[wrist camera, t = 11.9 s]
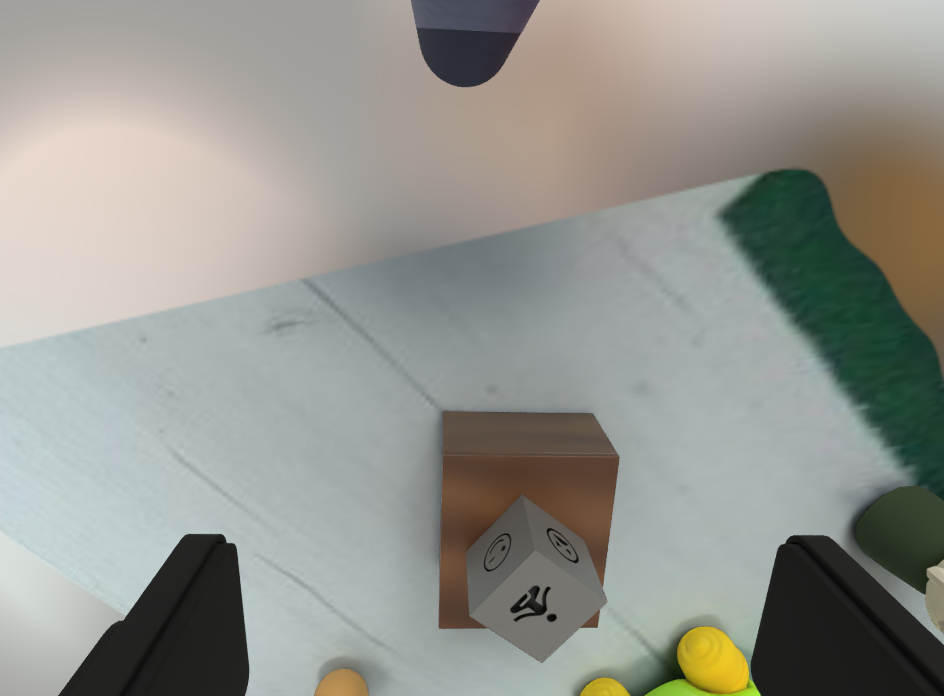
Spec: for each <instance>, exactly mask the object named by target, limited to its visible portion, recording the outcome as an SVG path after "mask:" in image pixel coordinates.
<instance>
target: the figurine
mask: <svg viewBox="0 0 944 696" xmlns="http://www.w3.org/2000/svg"><path fill="white" fill-rule="evenodd" d="M314 696H369V694H368V688H367V685H366V683H365V681H364V679H363V678H362V677H361V675H359V674H358V673H357V672H355V671H353V670H351V669H337V670H335V671H332V672H330V673H329V674H327V675H326V676H325V677H324V678H323V679H322V680H321V682H320V683H319V685H318V686H317V688H316V691H315V694H314Z"/></svg>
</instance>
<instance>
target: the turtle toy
mask: <svg viewBox="0 0 944 696" xmlns="http://www.w3.org/2000/svg"><path fill="white" fill-rule="evenodd" d="M677 657H678V662H679V665H680V667H681V669H682V671H683V673H684V674H685V677H686V679H678V680H673V681H670V682H667V683H665V684H663V685H661V686H659V687H657V688H655V689H653V690H652V691H650V692H649V693H647V694H646V695H645V696H761V695H760V693H759V692H758V690H757V688H756V686H755V684H754V682H753V681H751V680H750V678H749V668H748V664H747V662H746V660H745V658H744V656H743V654H742V653H741V651H740V650H739V649H738V648H737V647H736V646H735V645H734V644H733V642H732V641H731V639H730V638H729V637H728V636H727V635H726V634H725V633H724V632H722V631H721V630H719V629H717V628H714V627H710V626H704V627H697V628H694V629H692V630H690V631H689V632H688V633H686V634H685V635H684V636H683V638H682V639H681V641H680V643H679V645H678V650H677ZM580 696H631V695H630V694H629V693H628V691H627V690H626V689H625V688H624V687H623V686H622V685H621V684H620V683H619V682H617V681H616V680H614V679H611V678H598V679H596V680H593V681H592V682H590V683H589V684H588V685H587V686H585V688H584V689H583V691H582V692H581V694H580Z"/></svg>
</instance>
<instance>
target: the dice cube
mask: <svg viewBox="0 0 944 696" xmlns="http://www.w3.org/2000/svg"><path fill="white" fill-rule="evenodd" d="M466 566H467V583H468V600H469V616H470V617H472V618H473V619H475V620H476V621H478V622H479V623H481V624H482V625H484V626H486V627H487V628H489V629H490V630H492V631H493V632H495V633H496V634H498V635H499V636H501V637H502V638H504V639H506V640H507V641H509V642H510V643H512V644H513V645H515V646H516V647H518V648H519V649H521V650H522V651H524V652H525V653H527V654H529V655H530V656H532V657H533V658H535V659H536V660H538V661H539V662H541V663H543V662H544V661H545V660H546V659H547V658H548V657H549V656H550V655H551V654H552V653H553V652H554V651H556V650H557V649H558V648H559V647H560V646H561V645H562V644H563V643H564V642H565V641H566V640H567V639H568V638H569V637H571V636H572V635H573V634H574V633H575V632H576V631H577V630H578V629H579V628H580V627H581V626H582V625H583V624H584V623H586V622H587V621H588V620H589V619H590V618H591V617H592V616H593V615H594V614H595V613H596V612H597V611H598V610H599V609H601V608H602V607H603V606H604V605H605V604H606V603H607V602H608V601H607V598H606V596H605V593H604V590H603V588H602V585H601V582H600V580H599V577H598V575H597V572H596V569H595V567H594V564H593V561H592V559H591V556H590V554H589V551H588V548H587V546H586V543H585V541H584V540H583V539H582V538H581V537H579V536H578V535H577V534H575V533H574V532H572V531H571V530H570V529H568V528H567V527H566V526H564V525H563V524H562V523H560V522H559V521H558V520H556V519H555V518H553V517H552V516H551V515H549V514H548V513H547V512H545V511H544V510H543V509H541V508H540V507H539V506H537V505H536V504H534V503H533V502H532V501H530V500H529V499H528V498H526V497H525V496H524V495H521V496H520V497H519V498H518V499H517V500H516V501H515V502H514V503H513V504H512V505H511V506H510V507H509V508H508V509H507V510H506V511H505V512H504V513H503V514H502V515H501V516H500V517H499V518H498V519H497V520H496V521H495V523H494V524H493V525H492V526H491V527H490V528H489V529H488V530H487V531H486V532H485V533H484V534H483V535H482V536H481V537H480V538H479V539H478V540H477V541H476V542H475V543H474V544H473V545H472V546H471V547H470V548H469V549H468V550H467V551H466Z"/></svg>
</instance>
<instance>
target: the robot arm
mask: <svg viewBox="0 0 944 696" xmlns="http://www.w3.org/2000/svg"><path fill="white" fill-rule="evenodd" d="M751 674H752V678H753V681H754V684H755V686H756V688H757V690H758V692H759V693H760V695H761V696H944V645H943V644H942V643H941V642H940V641H939V640H938V639H937V638H936V637H935V636H934V635H933V634H932V633H931V632H929V631H928V630H927V629H926V628H925V627H924V626H923V625H922V624H921V623H920V622H919V621H918V620H917V619H916V618H915V617H914V616H913V615H912V614H911V613H910V612H908V611H907V610H906V609H905V608H904V607H903V606H902V605H901V604H900V603H899V602H898V601H897V600H896V599H895V598H894V597H893V596H892V595H891V594H890V593H888V592H887V591H886V590H885V589H884V588H883V587H882V586H881V585H880V584H879V583H878V582H877V581H876V580H875V579H874V578H873V577H872V576H871V575H870V574H868V573H867V572H866V571H865V570H864V569H863V568H862V567H861V566H860V565H859V564H858V563H857V562H856V561H855V560H854V559H853V558H852V557H851V556H850V555H848V554H847V553H846V552H845V551H844V550H843V549H842V548H841V547H840V546H839V545H838V544H837V543H836V542H835V541H834V540H832V539H831V538H830V537H828V536H824V535H794V536H790V537H789V538H788V539H787V541H786V543H785V544H782V545H780V547H779V548H778V550H777V554H776V558H775V562H774V567H773V571H772V575H771V579H770V584H769V588H768V592H767V597H766V601H765V605H764V609H763V614H762V618H761V622H760V626H759V631H758V635H757V639H756V643H755V648H754V652H753V656H752V660H751ZM248 680H249V661H248V651H247V642H246V632H245V623H244V613H243V603H242V594H241V584H240V575H239V565H238V555H237V548H236V546H235V544H233V543H226V539H225V537H224V535H222V534H187V535H185V536H184V537H183V538H182V539H181V540H180V542H179V543H178V544H177V546H176V547H175V549H174V550H173V551H172V553H171V554H170V556H169V557H168V558H167V560H166V561H165V563H164V564H163V566H162V567H161V568H160V570H159V571H158V573H157V574H156V575H155V577H154V578H153V580H152V581H151V582H150V584H149V585H148V587H147V588H146V589H145V591H144V592H143V594H142V595H141V596H140V598H139V599H138V601H137V602H136V603H135V605H134V606H133V608H132V609H131V610H130V612H129V613H128V615H127V616H126V617H125V619H124V620H123V621H118V622H116V623H114V624H113V625H111V627H110V628H109V629H108V630H107V631H106V632H105V633H104V634H103V636H102V637H101V638H100V640H99V641H98V643H97V644H96V645H95V646H94V648H93V649H92V650H91V652H90V653H89V655H88V656H87V657H86V659H85V660H84V661H83V663H82V664H81V666H80V667H79V668H78V670H77V671H76V672H75V674H74V675H73V676H72V678H71V679H70V680H69V682H68V683H67V685H66V686H65V687H64V689H63V690H62V691H61V693H60V694H59V695H58V696H245V693H246V690H247V686H248Z"/></svg>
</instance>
